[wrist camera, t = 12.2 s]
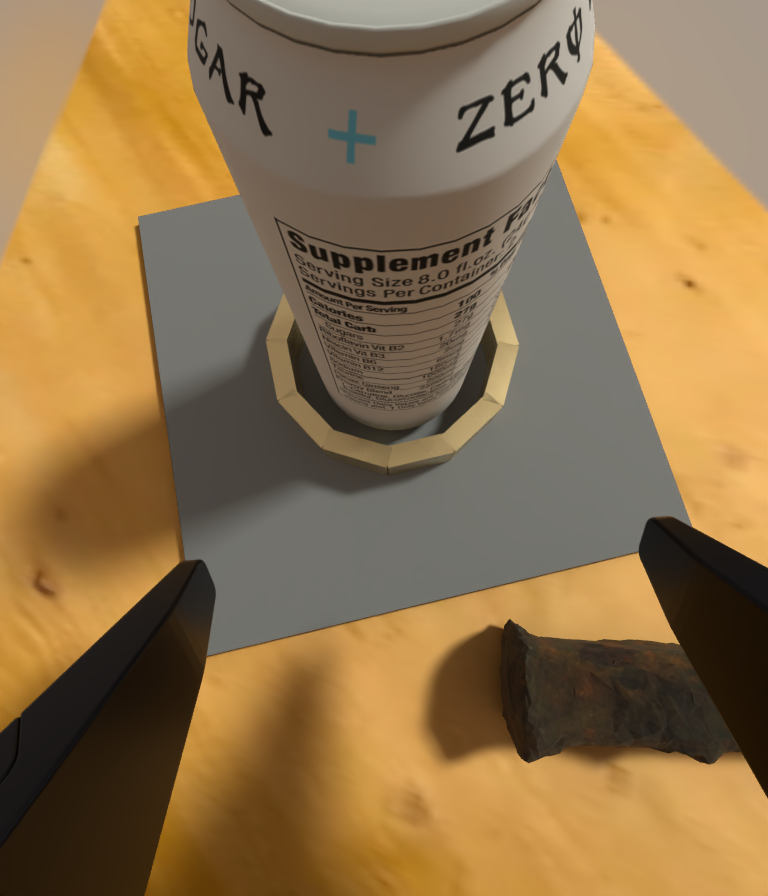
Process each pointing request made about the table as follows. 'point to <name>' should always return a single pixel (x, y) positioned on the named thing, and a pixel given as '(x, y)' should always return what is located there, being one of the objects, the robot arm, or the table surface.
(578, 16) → the energy drink can
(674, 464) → the table surface
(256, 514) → the rubber mat
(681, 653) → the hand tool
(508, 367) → the wooden ring
